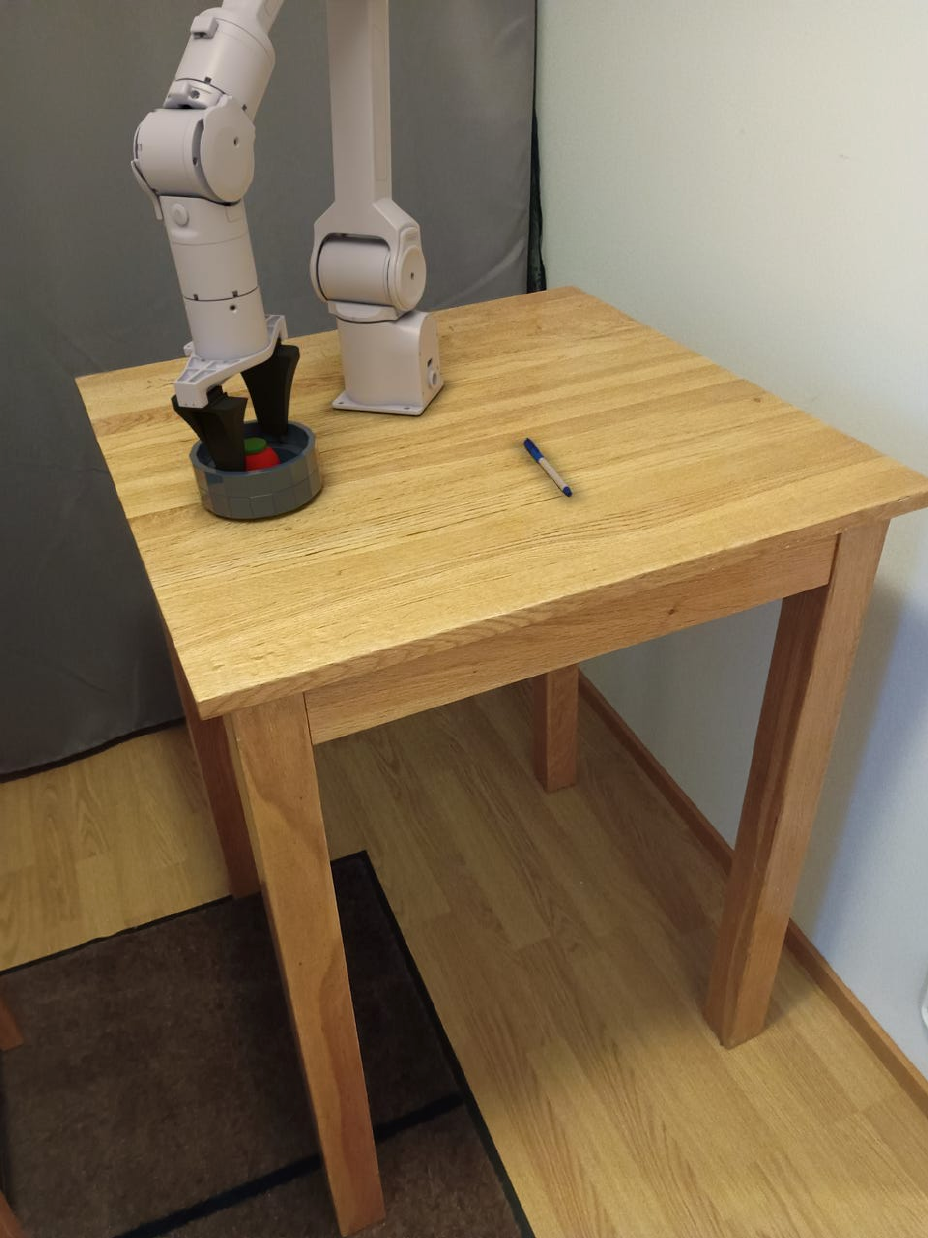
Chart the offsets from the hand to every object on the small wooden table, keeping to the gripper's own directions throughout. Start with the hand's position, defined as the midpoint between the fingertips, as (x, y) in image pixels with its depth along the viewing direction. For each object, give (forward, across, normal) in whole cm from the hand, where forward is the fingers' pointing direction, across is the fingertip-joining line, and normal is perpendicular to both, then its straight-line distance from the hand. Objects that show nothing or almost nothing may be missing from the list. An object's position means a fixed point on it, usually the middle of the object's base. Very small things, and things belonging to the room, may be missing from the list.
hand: (254, 452), depth 78 cm
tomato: (+3, 0, 0) cm, 3 cm away
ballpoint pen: (+4, -9, +23) cm, 25 cm away
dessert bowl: (+4, 0, 0) cm, 4 cm away
